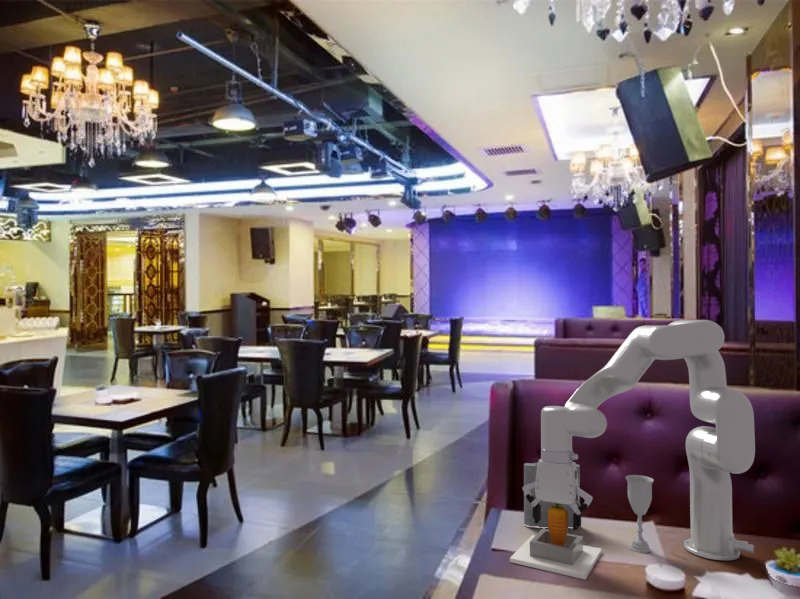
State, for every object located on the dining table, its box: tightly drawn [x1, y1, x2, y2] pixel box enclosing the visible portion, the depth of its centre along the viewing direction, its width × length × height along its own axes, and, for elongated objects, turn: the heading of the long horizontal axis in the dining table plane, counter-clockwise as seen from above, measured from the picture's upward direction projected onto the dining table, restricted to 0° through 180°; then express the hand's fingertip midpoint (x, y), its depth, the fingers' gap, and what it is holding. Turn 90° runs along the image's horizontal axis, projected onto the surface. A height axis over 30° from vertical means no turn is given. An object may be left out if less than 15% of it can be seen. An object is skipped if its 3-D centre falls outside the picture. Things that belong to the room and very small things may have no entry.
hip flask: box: [523, 462, 581, 527], centre depth 164 cm, size 16×4×20 cm, turn 88°
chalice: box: [625, 474, 655, 554], centre depth 148 cm, size 7×7×18 cm
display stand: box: [509, 529, 603, 580], centre depth 142 cm, size 18×18×4 cm
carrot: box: [547, 503, 569, 546], centre depth 142 cm, size 5×5×15 cm
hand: (556, 525), depth 142 cm, fingers open, 9 cm apart
